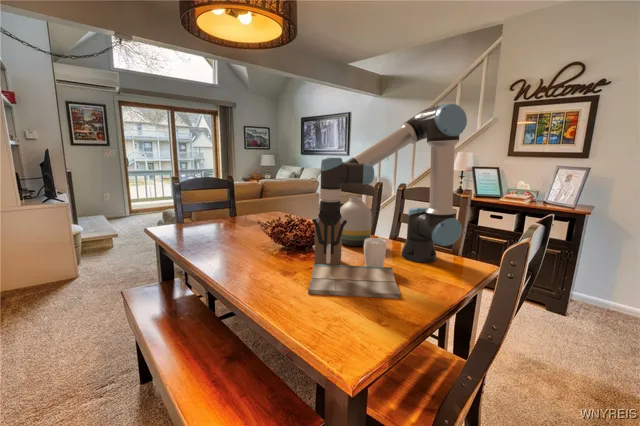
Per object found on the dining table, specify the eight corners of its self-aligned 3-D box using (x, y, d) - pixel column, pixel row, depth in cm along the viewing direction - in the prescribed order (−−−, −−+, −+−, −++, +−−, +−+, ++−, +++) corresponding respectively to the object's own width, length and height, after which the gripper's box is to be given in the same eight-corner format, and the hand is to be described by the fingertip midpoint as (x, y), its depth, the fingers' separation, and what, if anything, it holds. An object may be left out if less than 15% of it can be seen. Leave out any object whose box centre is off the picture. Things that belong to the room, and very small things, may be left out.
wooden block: (337, 268, 125) (339, 220, 122) (314, 266, 127) (314, 219, 123) (341, 260, 135) (342, 215, 131) (319, 258, 137) (319, 214, 133)
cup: (386, 267, 127) (388, 239, 125) (383, 274, 119) (385, 245, 117) (365, 264, 130) (366, 236, 128) (360, 271, 122) (361, 242, 120)
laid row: (395, 286, 108) (395, 282, 108) (399, 298, 99) (400, 293, 99) (311, 282, 110) (311, 278, 110) (308, 293, 101) (308, 289, 101)
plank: (391, 271, 117) (392, 267, 116) (395, 285, 109) (395, 281, 108) (313, 267, 119) (313, 263, 119) (311, 281, 111) (311, 277, 110)
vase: (331, 243, 160) (332, 198, 155) (350, 237, 172) (351, 195, 168) (358, 250, 149) (360, 201, 144) (376, 243, 161) (378, 198, 157)
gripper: (348, 199, 115) (345, 259, 119) (313, 198, 115) (312, 258, 120) (348, 202, 107) (345, 266, 111) (311, 201, 108) (310, 264, 112)
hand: (328, 262), depth 116 cm, fingers closed
